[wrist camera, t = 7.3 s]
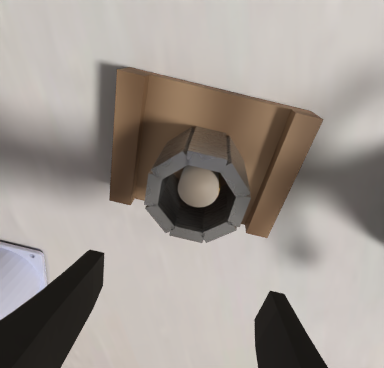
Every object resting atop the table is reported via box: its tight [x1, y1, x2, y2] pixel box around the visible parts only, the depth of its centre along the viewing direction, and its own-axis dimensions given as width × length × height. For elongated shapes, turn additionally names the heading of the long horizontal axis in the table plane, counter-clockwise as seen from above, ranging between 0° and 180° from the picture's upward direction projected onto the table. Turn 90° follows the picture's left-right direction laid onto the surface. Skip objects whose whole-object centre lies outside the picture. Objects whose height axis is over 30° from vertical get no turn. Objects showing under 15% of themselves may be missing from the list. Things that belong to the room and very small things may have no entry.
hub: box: [144, 126, 251, 243], centre depth 15 cm, size 6×6×4 cm
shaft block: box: [110, 67, 323, 238], centre depth 16 cm, size 12×9×6 cm
